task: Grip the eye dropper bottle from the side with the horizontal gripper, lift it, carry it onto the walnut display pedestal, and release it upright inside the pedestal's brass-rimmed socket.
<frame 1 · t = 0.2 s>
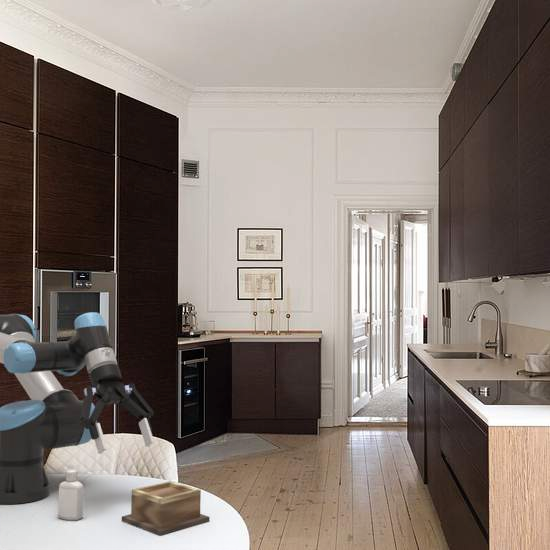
hand: (127, 448, 167), 14 cm above the table, tool tilted 35°, fingers open, 13 cm apart
display pedestal: (165, 521, 157), on the table
eye dropper bottle: (70, 518, 159), on the table
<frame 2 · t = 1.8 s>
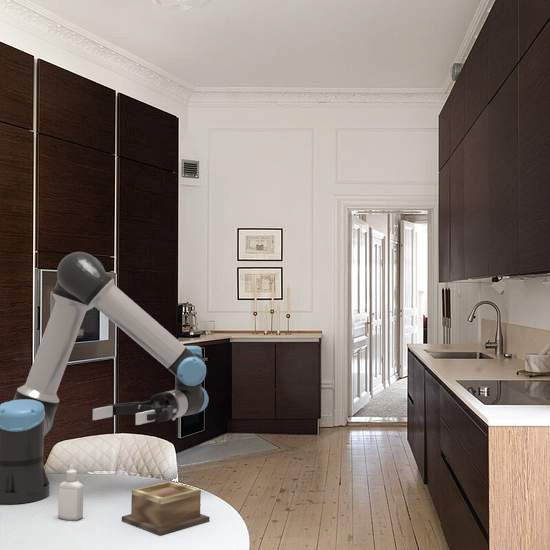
hand: (114, 416, 170), 21 cm above the table, tool horizontal, fingers open, 13 cm apart
nothing on the table moved.
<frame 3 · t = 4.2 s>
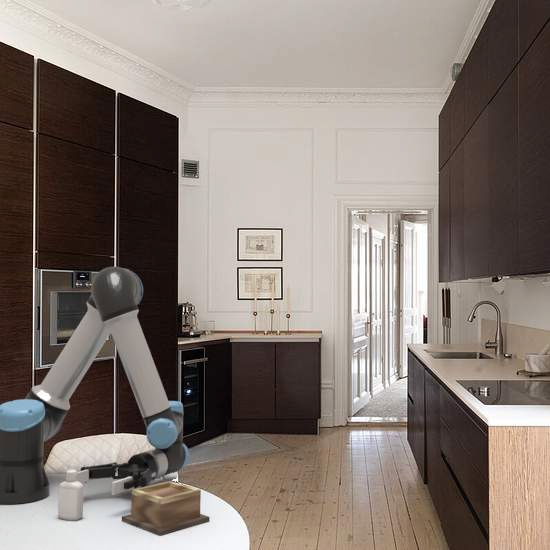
hand: (90, 484, 163), 6 cm above the table, tool horizontal, fingers open, 13 cm apart
nothing on the table moved.
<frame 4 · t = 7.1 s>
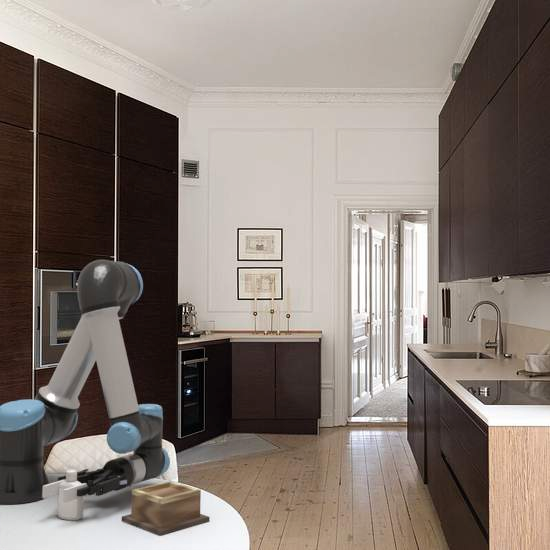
hand: (54, 494, 154), 7 cm above the table, tool horizontal, fingers closed on eye dropper bottle, 6 cm apart
eye dropper bottle: (70, 518, 159), on the table, touching gripper
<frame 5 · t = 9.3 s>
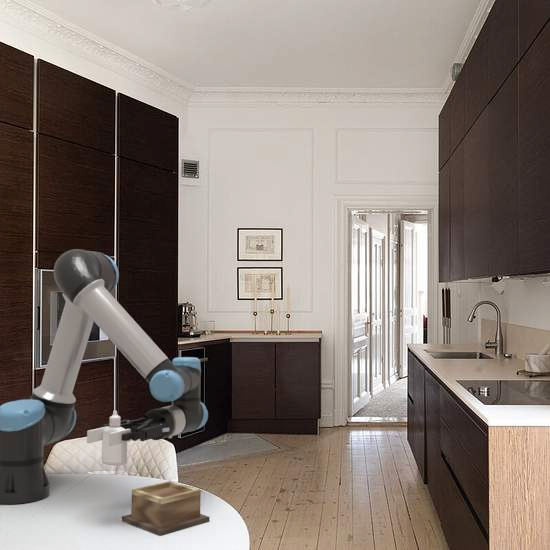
hand: (99, 438, 154), 19 cm above the table, tool horizontal, fingers closed on eye dropper bottle, 6 cm apart
eye dropper bottle: (114, 464, 158), point 12 cm above the table, touching gripper
when the fingers open (15 cm above the table, at t = 11.5 s): eye dropper bottle drops 2 cm, resting on display pedestal.
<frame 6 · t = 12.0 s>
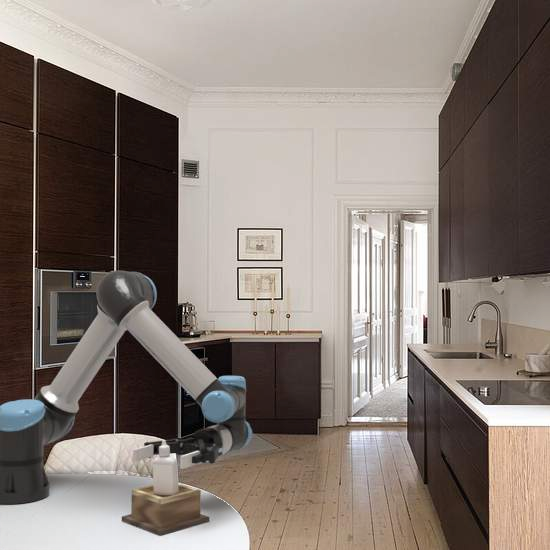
hand: (157, 459, 155), 15 cm above the table, tool horizontal, fingers open, 12 cm apart
eye dropper bottle: (166, 494, 158), point 6 cm above the table, touching display pedestal
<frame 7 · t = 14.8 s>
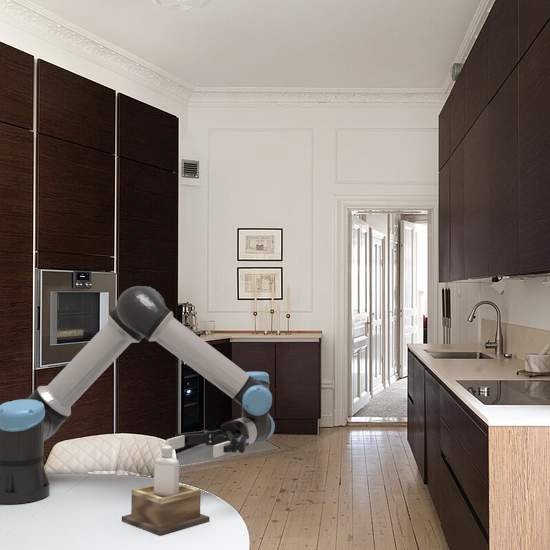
hand: (190, 448, 166), 15 cm above the table, tool horizontal, fingers open, 13 cm apart
nothing on the table moved.
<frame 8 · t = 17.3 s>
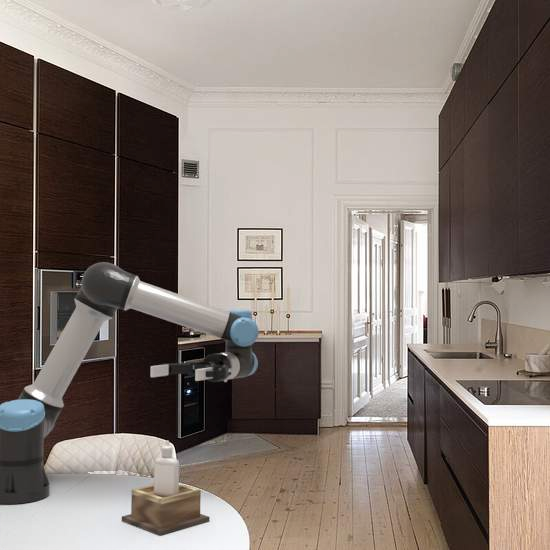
hand: (173, 373, 171), 32 cm above the table, tool horizontal, fingers open, 13 cm apart
nothing on the table moved.
at the end: eye dropper bottle 0.0 cm off-centre on the display pedestal, point 5.8 cm above the display pedestal's base; eye dropper bottle tilted 0°; the gripper is holding nothing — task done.
